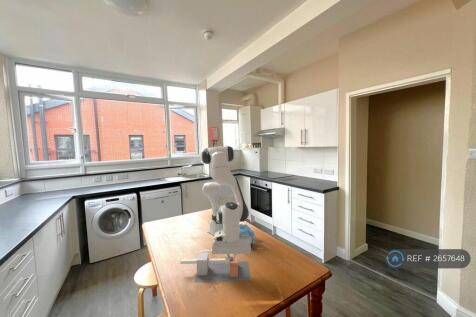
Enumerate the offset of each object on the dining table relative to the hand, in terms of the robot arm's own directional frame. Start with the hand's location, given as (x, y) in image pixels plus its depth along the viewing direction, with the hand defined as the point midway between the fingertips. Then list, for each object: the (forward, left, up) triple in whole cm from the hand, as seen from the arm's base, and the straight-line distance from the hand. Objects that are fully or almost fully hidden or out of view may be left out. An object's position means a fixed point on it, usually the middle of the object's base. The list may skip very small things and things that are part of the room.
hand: (231, 261), depth 99 cm
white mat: (-15, -13, -6) cm, 21 cm away
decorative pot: (-29, +6, -6) cm, 30 cm away
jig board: (0, -4, -6) cm, 7 cm away
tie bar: (0, -14, 0) cm, 14 cm away
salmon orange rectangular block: (0, +1, -5) cm, 5 cm away
